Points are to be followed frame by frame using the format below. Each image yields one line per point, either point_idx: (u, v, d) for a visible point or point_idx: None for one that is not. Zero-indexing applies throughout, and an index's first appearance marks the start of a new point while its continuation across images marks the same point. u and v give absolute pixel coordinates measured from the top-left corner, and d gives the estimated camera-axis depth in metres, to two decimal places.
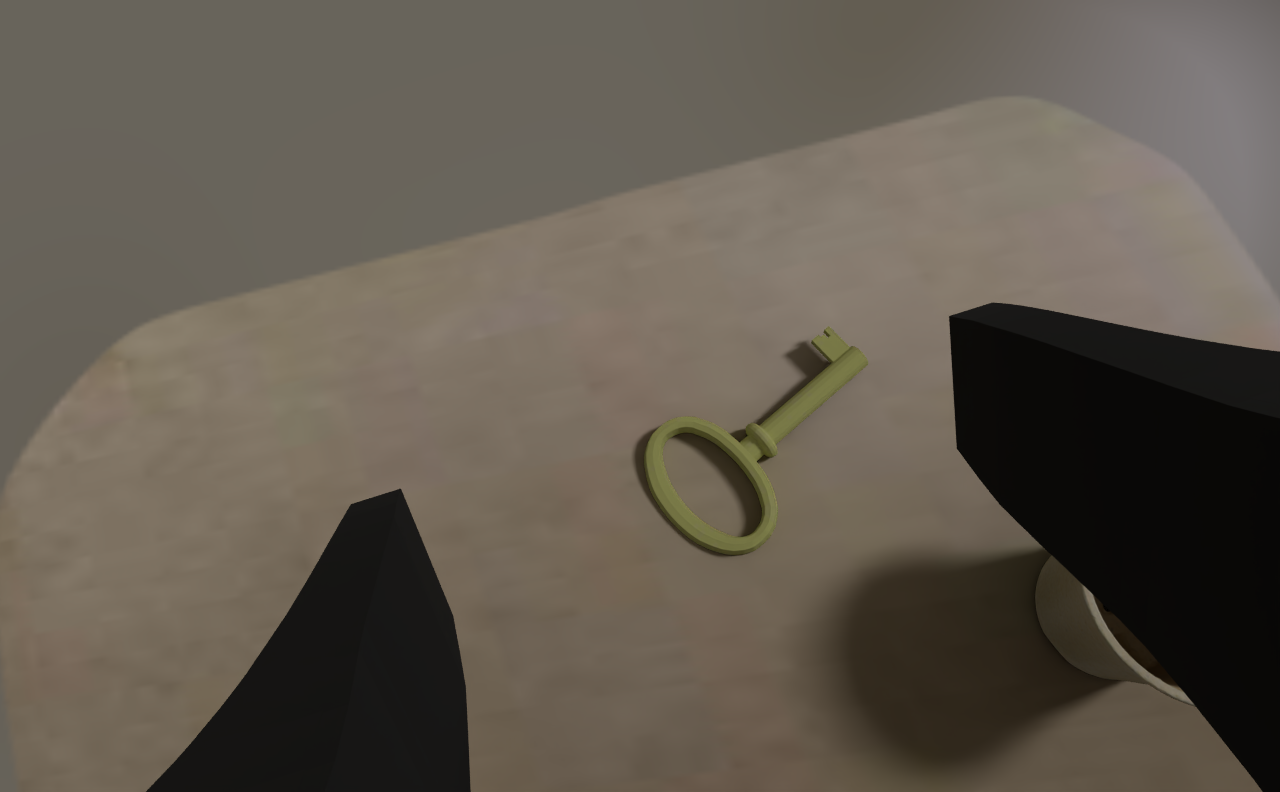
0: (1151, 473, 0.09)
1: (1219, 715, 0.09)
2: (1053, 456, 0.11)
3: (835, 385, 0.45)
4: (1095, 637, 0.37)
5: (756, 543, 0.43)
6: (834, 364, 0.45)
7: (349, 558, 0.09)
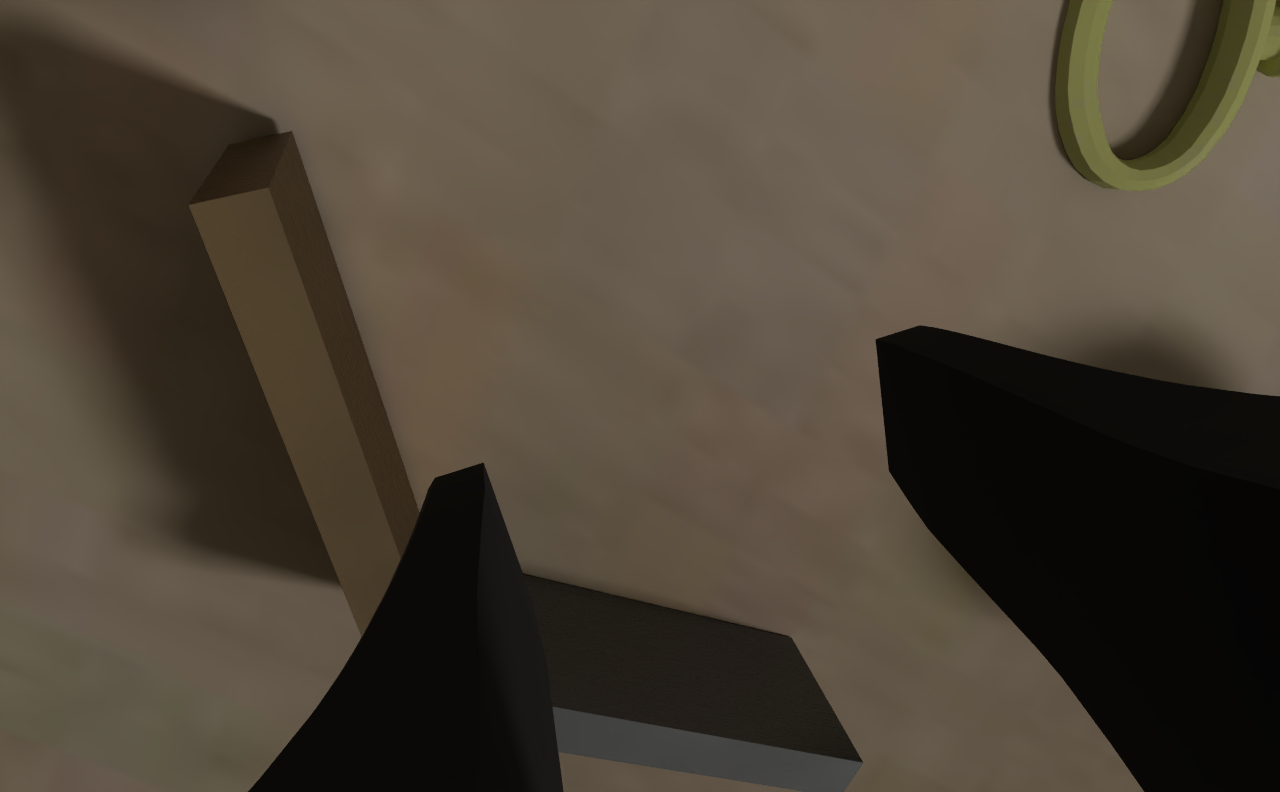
0: (1058, 505, 0.09)
1: (1128, 749, 0.09)
2: (972, 483, 0.10)
3: None
4: None
5: (1126, 187, 0.23)
6: None
7: (447, 527, 0.09)
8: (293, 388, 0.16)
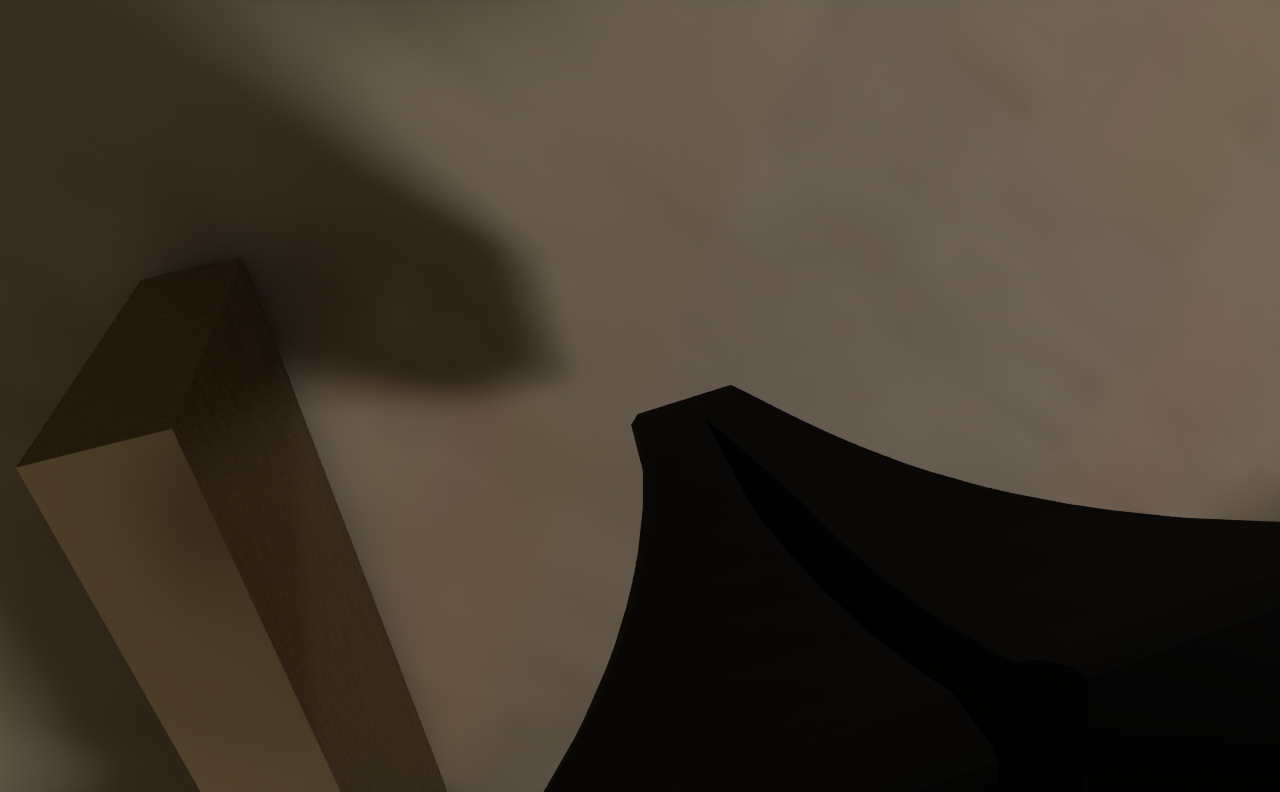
0: None
1: None
2: None
3: None
4: None
5: None
6: None
7: (683, 451, 0.10)
8: (231, 742, 0.09)
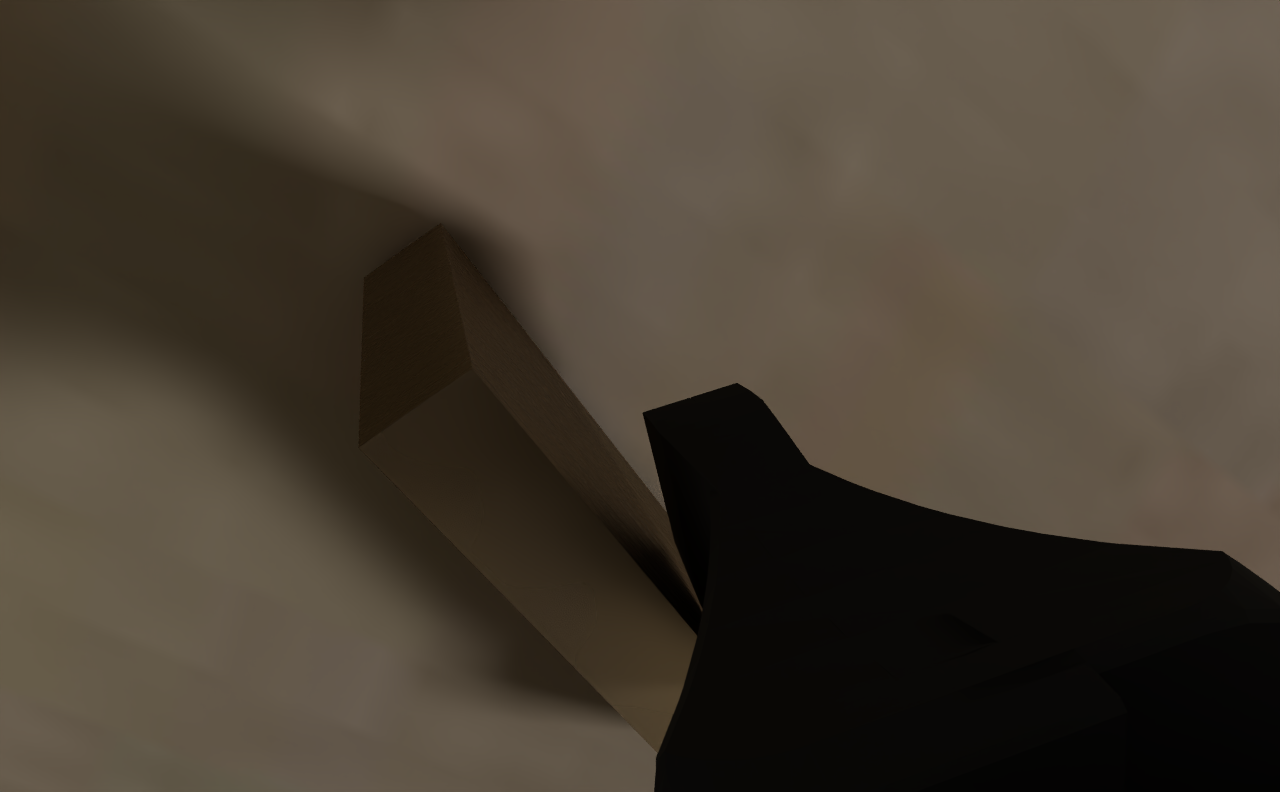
0: None
1: None
2: None
3: None
4: None
5: None
6: None
7: (745, 431, 0.10)
8: (610, 640, 0.10)
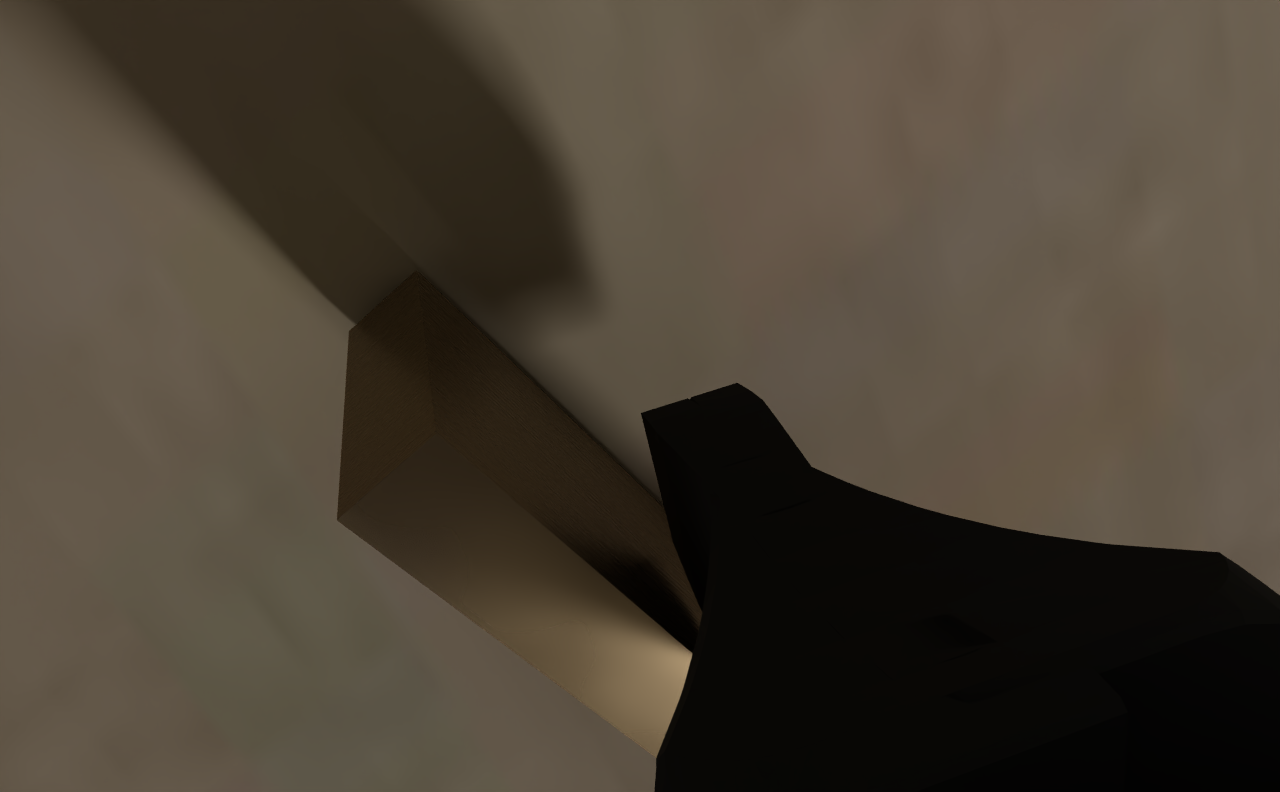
0: None
1: None
2: None
3: None
4: None
5: None
6: None
7: (745, 431, 0.10)
8: (612, 672, 0.10)
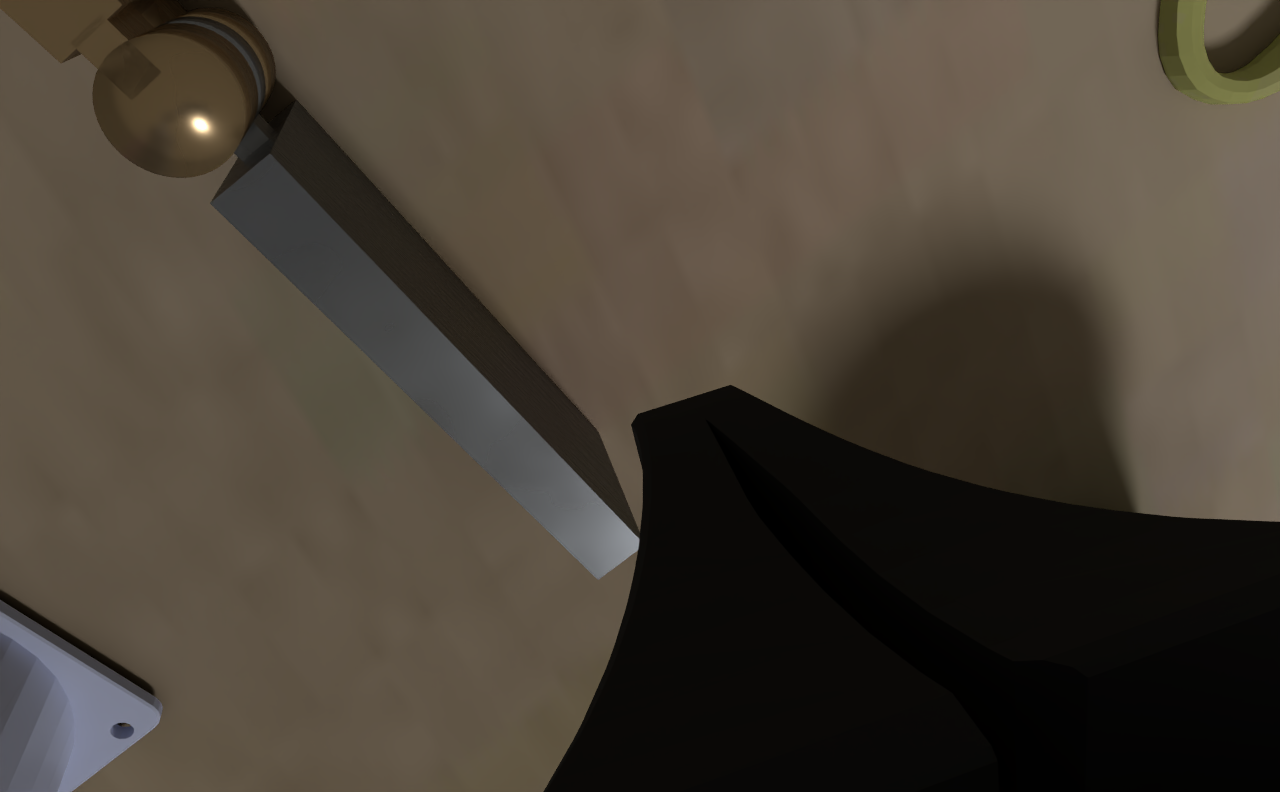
0: None
1: None
2: None
3: None
4: None
5: (1204, 90, 0.22)
6: None
7: (683, 451, 0.10)
8: None
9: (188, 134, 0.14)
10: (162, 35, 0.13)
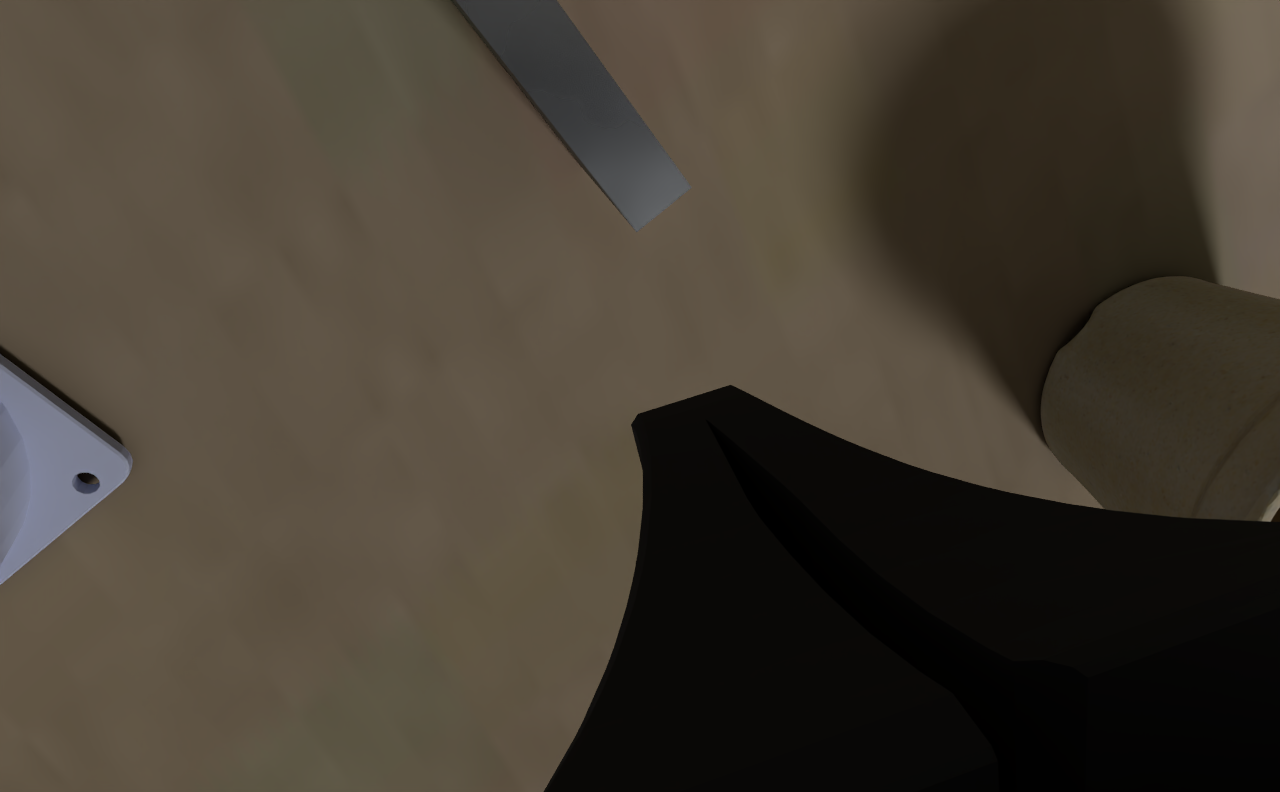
0: None
1: None
2: None
3: None
4: (1242, 399, 0.20)
5: None
6: None
7: (683, 451, 0.10)
8: None
9: None
10: None
